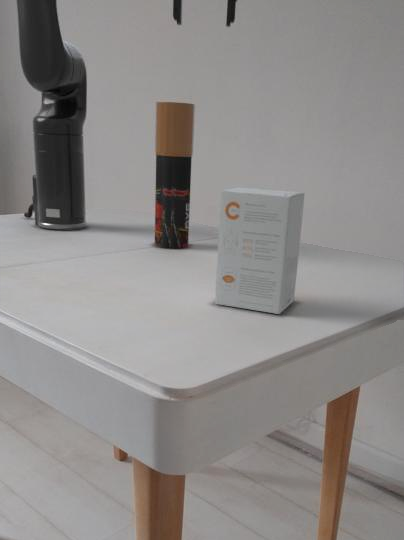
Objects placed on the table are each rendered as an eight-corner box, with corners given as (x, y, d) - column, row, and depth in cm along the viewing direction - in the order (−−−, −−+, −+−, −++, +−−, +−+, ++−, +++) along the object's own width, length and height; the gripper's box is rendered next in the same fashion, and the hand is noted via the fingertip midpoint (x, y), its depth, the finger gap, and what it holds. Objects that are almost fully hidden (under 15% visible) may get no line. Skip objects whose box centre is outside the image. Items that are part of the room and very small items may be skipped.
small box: (294, 302, 69) (306, 191, 64) (279, 315, 63) (291, 195, 58) (232, 292, 72) (239, 186, 67) (213, 304, 66) (219, 189, 61)
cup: (147, 154, 93) (148, 101, 90) (169, 154, 98) (171, 104, 95) (178, 156, 90) (180, 102, 87) (199, 156, 95) (201, 104, 92)
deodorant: (187, 249, 97) (190, 157, 92) (152, 247, 97) (154, 155, 92) (188, 243, 103) (192, 156, 97) (156, 241, 103) (157, 154, 97)
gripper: (251, -80, 95) (244, 30, 101) (167, -83, 95) (165, 27, 101) (252, -97, 88) (245, 23, 94) (161, -100, 88) (159, 19, 94)
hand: (203, 25), depth 97 cm, fingers open, 8 cm apart
